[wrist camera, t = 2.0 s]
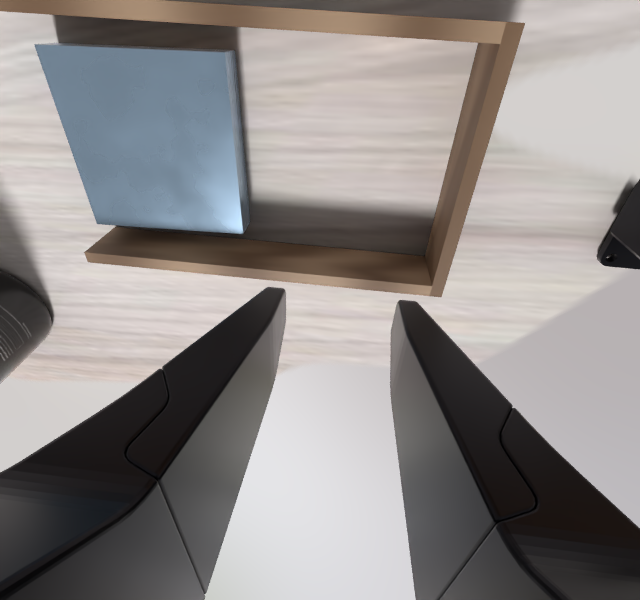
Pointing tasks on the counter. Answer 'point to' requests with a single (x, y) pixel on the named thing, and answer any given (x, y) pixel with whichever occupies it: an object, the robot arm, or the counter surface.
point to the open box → (308, 260)
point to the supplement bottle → (19, 323)
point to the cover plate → (153, 133)
